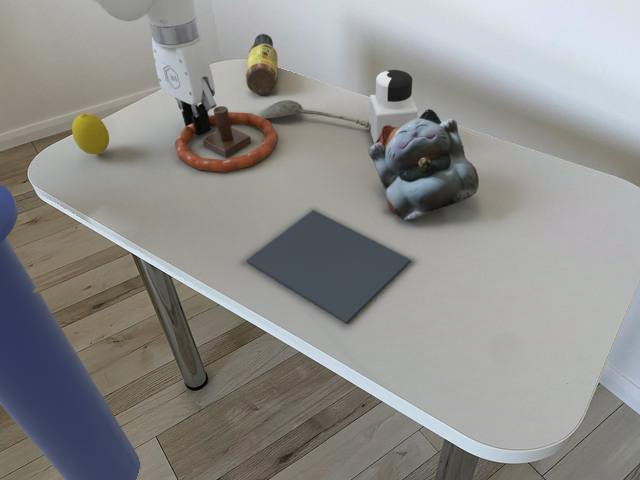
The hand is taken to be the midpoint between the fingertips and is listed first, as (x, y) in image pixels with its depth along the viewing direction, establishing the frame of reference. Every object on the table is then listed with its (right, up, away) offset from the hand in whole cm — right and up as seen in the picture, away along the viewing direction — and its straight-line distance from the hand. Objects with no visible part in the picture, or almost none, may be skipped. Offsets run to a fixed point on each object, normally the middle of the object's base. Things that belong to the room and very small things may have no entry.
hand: (198, 129), depth 103 cm
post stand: (+6, -4, -3) cm, 8 cm away
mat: (+25, -25, -26) cm, 43 cm away
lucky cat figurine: (+39, -15, -15) cm, 45 cm away
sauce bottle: (+11, +11, +7) cm, 17 cm away
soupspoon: (+22, +2, +2) cm, 22 cm away
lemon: (-16, -6, -5) cm, 18 cm away
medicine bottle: (+36, -2, -3) cm, 36 cm away
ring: (+6, -3, -4) cm, 8 cm away
